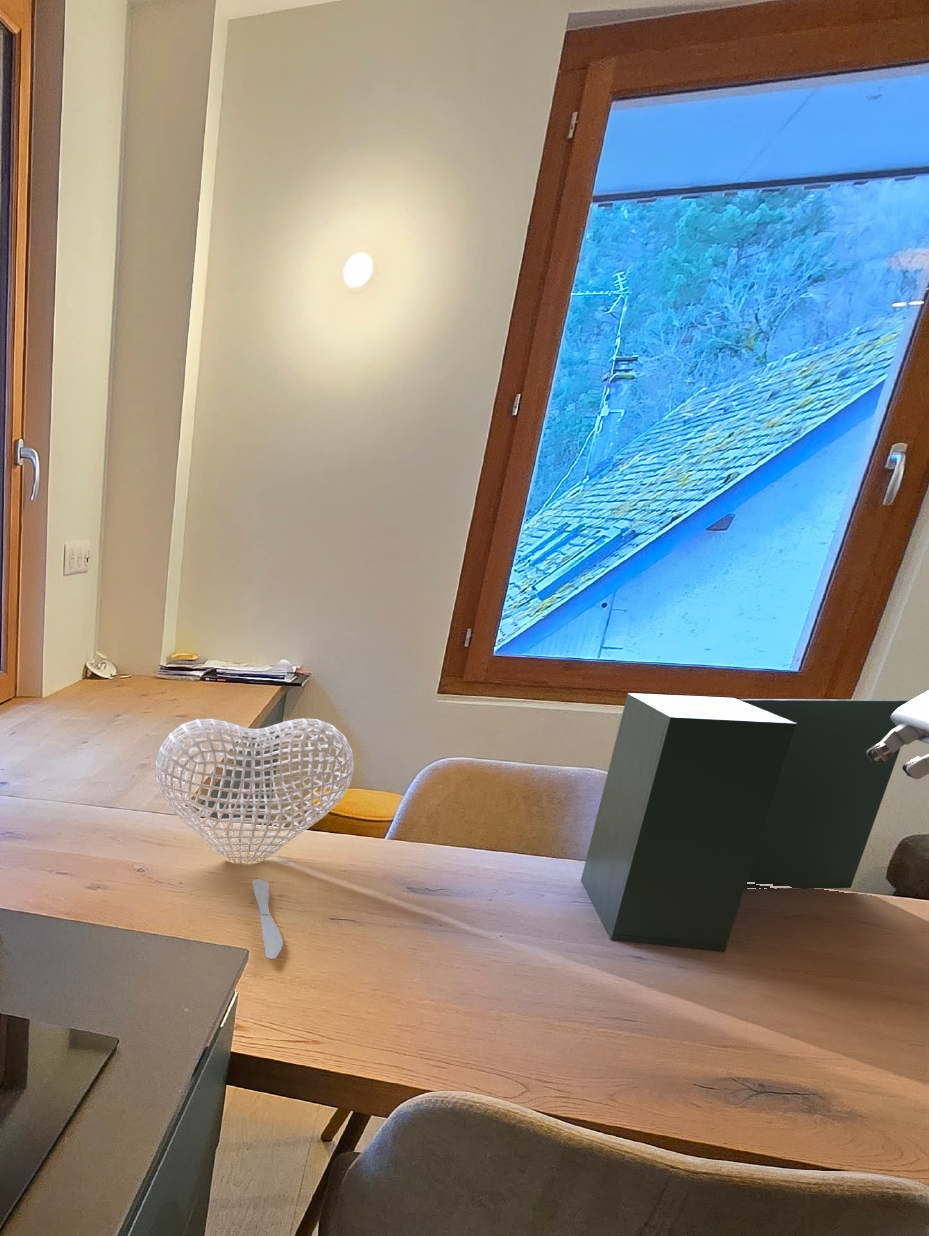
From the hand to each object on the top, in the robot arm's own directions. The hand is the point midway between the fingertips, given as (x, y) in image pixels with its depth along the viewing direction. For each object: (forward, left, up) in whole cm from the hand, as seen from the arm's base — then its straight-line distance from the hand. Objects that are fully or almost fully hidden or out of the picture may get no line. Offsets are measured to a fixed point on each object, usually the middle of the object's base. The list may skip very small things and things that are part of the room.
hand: (888, 765), depth 119 cm
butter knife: (+41, +55, -21) cm, 72 cm away
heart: (+60, +39, -22) cm, 75 cm away
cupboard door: (+14, -12, -22) cm, 29 cm away
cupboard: (+16, +12, -22) cm, 29 cm away
